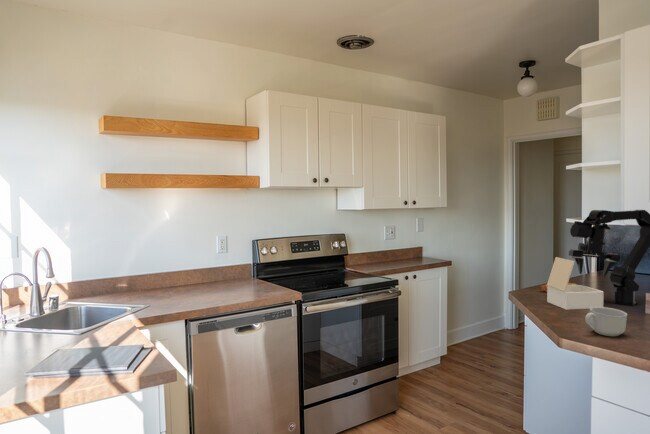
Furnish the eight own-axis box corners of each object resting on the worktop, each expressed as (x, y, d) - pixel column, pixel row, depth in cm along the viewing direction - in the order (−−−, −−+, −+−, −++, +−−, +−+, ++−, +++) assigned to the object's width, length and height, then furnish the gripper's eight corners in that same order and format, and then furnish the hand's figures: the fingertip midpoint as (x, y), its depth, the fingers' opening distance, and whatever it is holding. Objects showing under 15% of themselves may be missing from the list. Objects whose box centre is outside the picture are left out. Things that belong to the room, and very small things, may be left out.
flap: (556, 257, 199) (555, 256, 198) (574, 261, 186) (573, 260, 186) (547, 285, 199) (546, 284, 199) (565, 291, 186) (564, 290, 186)
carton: (582, 300, 201) (582, 285, 201) (604, 308, 186) (604, 291, 186) (546, 301, 200) (546, 286, 200) (566, 309, 185) (566, 292, 185)
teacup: (612, 328, 158) (612, 306, 158) (634, 338, 147) (635, 314, 147) (573, 329, 157) (573, 307, 157) (593, 339, 147) (593, 315, 146)
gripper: (612, 240, 199) (608, 275, 199) (566, 235, 202) (562, 270, 203) (623, 242, 188) (619, 279, 188) (575, 237, 191) (571, 273, 192)
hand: (592, 275), depth 193 cm, fingers open, 9 cm apart
